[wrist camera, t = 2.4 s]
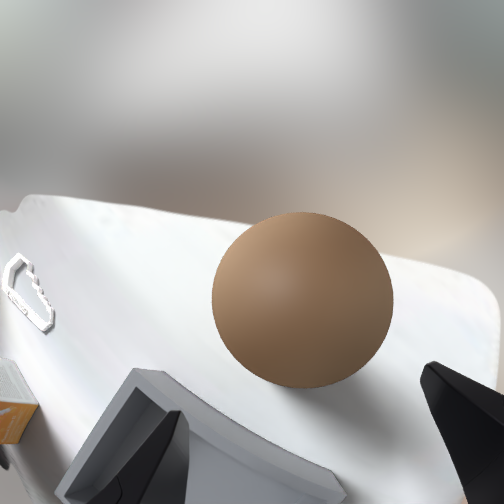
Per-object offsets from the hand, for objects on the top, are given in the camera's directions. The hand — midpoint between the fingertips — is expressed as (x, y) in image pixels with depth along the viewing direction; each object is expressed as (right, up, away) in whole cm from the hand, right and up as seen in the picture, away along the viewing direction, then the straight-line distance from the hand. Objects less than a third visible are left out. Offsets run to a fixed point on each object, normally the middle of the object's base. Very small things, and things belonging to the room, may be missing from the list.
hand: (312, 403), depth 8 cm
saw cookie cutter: (-27, +1, +15) cm, 30 cm away
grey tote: (-6, -13, +6) cm, 15 cm away
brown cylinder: (0, -2, +11) cm, 11 cm away
